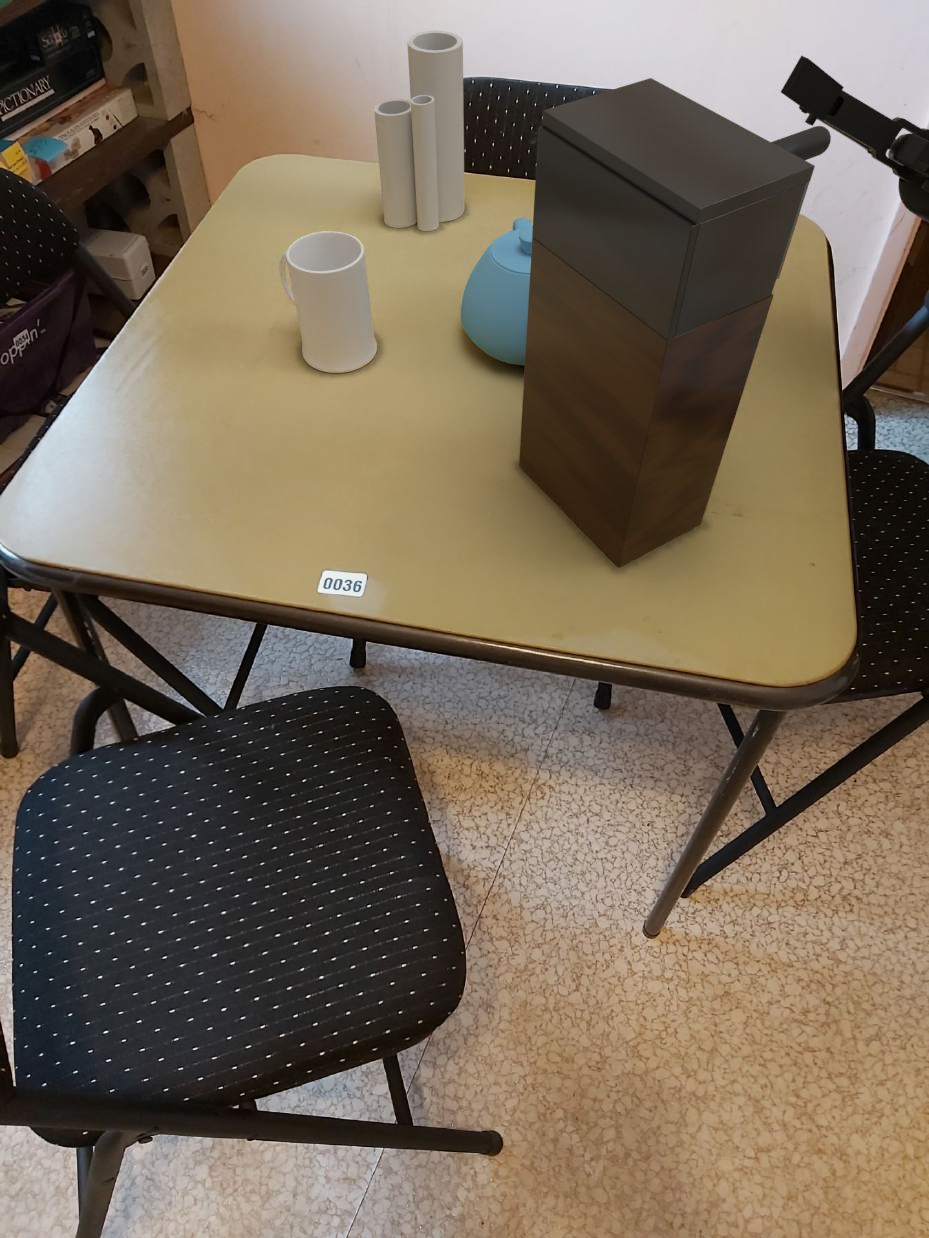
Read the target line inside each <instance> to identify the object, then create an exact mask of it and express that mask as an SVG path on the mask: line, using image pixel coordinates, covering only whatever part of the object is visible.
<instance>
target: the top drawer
mask: <svg viewBox="0 0 929 1238" xmlns="http://www.w3.org/2000/svg"><path fill="white" fill-rule="evenodd" d="M831 140H832V136H831V132H830V131H829V129H828V128H827V127H825V126H823V125H816V126H812V127H810V128H807V129H804V130H801V131H798V132H796V133H793V134H790V135H787V136H783V137H781V138H779V139H776V140H773V141H770V142H771V143H773V144H775V145H777V146H779V147H781V148H783V149H784V150H786V151H788V152H790V153H792V154H794V155H796V156H798V157H799V158H801V159H803V160H805V161H807V160H810V159H813V158H816V157H818V156H821V155H822V154H824V153H825V152H826V151H827V150H828V148H829V147H830V144H831ZM810 182H811V180H810V181H809V182H807V183H806V186H805V190H804V193H803V196H802V199H801V202H800V205H799V209H798V212H797V215H796V218H795V221H794V224H793V228H792V231H791V234H790V237H789V240H788V243H787V247H786V250H785V253H784V256H783V259H782V263H781V266H780V269H779V272H778V275H777V278H776V280H778V279H780V276H781V273H782V270H783V267H784V263H785V261H786V258H787V255H788V251H789V248H790V245H791V242H792V239H793V236H794V232H795V229H796V226H797V223H798V219H799V217H800V213H801V211H802V207H803V204H804V201H805V197H806V194H807V191H808V189H809V185H810Z"/></svg>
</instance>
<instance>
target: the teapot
mask: <svg viewBox="0 0 929 1238" xmlns="http://www.w3.org/2000/svg"><path fill="white" fill-rule="evenodd" d="M532 231H533V222H532V221H531V219H530V218H527V217H518V218H516V219H514V220H513V222H512V230H510V231H507V232H505V233H503V234H501V235H499V236H498V237H497V238H495V239H494V240H493V241H492V242H491V243H490V244H489V245H488V247H487V248H486V250H485V251H484V252H483V253H482V255H481V256H480V258H479V259H478V261H477V263H476V264H475V266H474V267H473V269H472V271H471V272H470V274H469V277H468V279H467V281H466V284H465V285H464V287H465V288H464V290H463V295H462V299H461V304H460V321H461V325H462V327H463V330H464V331H465V334H466V336H467V337H468V338H469V339H470V340H471V342H472V343H473V344H475V345H476V346H477V347H478V349H480V350H482V351H483V353H485V354H486V355H488V357H491V358H493V359H495V360H498V361H500V362H503V363H506V364H509V365H510V364H511V365H515V366H525V353H526V336H527V318H528V301H529V284H530V267H531V250H532Z"/></svg>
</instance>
